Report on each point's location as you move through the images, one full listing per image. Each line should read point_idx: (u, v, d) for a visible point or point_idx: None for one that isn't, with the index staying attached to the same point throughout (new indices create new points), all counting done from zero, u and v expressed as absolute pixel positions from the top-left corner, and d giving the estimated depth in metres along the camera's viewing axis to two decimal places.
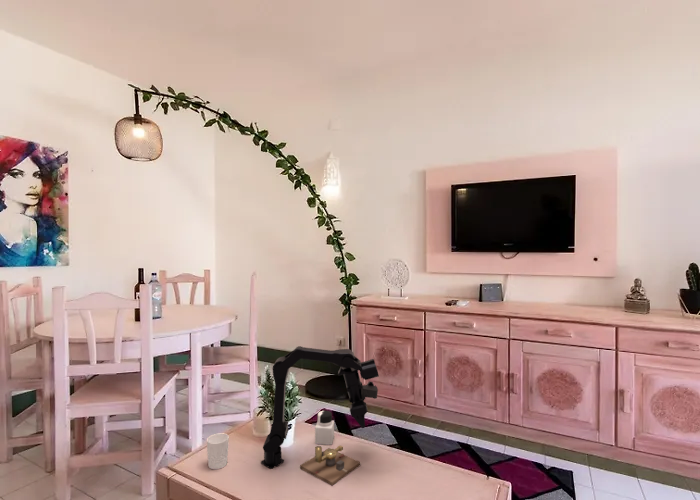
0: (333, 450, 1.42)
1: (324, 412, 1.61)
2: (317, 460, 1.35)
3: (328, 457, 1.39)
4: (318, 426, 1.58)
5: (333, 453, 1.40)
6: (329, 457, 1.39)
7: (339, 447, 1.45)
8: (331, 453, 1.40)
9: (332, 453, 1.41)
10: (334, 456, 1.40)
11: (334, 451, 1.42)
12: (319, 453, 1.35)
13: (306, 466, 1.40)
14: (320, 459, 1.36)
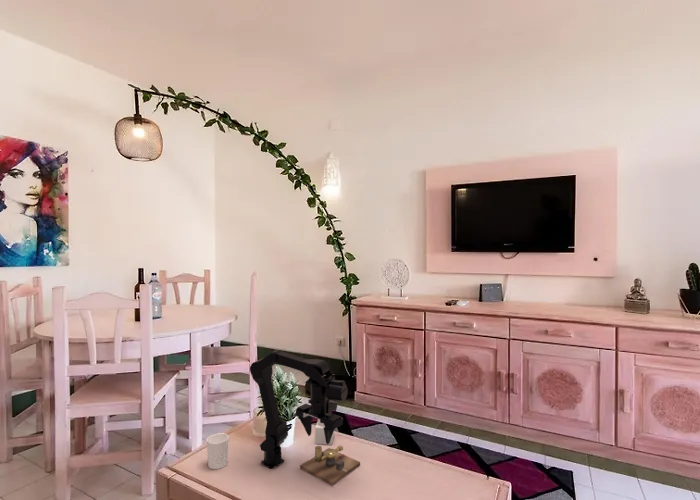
0: (333, 450, 1.42)
1: None
2: (317, 460, 1.35)
3: (328, 457, 1.39)
4: (318, 426, 1.58)
5: (333, 453, 1.40)
6: (329, 457, 1.39)
7: (339, 447, 1.45)
8: (331, 453, 1.40)
9: (332, 453, 1.41)
10: (334, 456, 1.40)
11: (334, 451, 1.42)
12: (319, 453, 1.35)
13: (306, 466, 1.40)
14: (320, 459, 1.36)
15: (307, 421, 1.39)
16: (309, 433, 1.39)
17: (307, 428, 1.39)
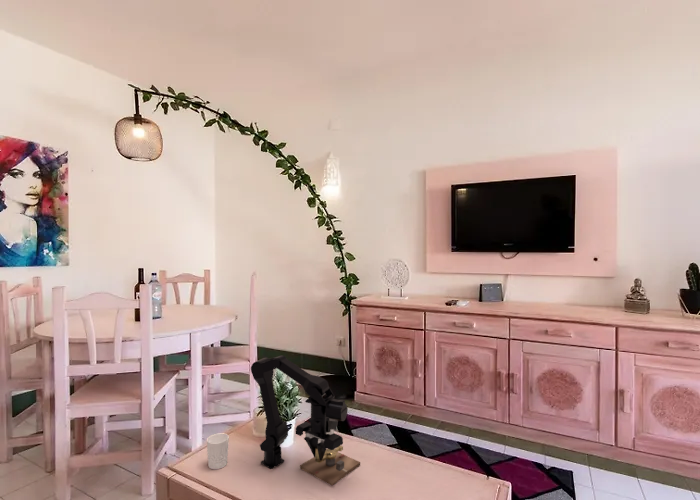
0: (333, 450, 1.42)
1: None
2: (317, 460, 1.35)
3: (328, 457, 1.39)
4: None
5: (333, 453, 1.40)
6: (329, 457, 1.39)
7: (339, 447, 1.45)
8: (331, 453, 1.40)
9: (332, 453, 1.41)
10: (334, 456, 1.40)
11: (334, 451, 1.42)
12: None
13: (306, 466, 1.40)
14: None
15: (313, 442, 1.37)
16: None
17: (313, 450, 1.36)
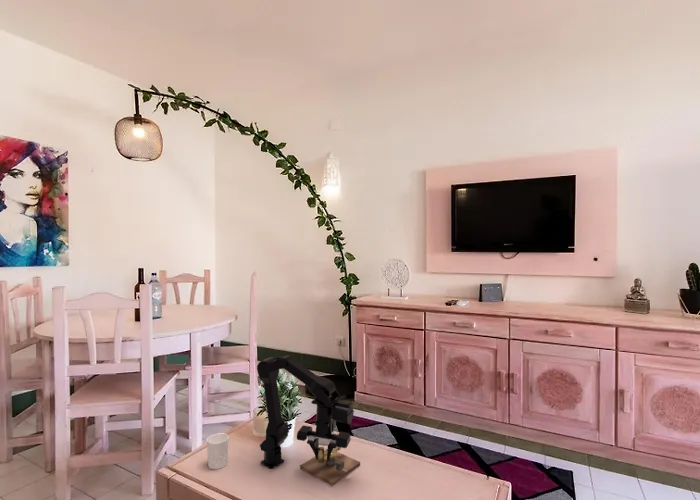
0: (333, 450, 1.42)
1: None
2: (320, 461, 1.35)
3: None
4: None
5: (334, 453, 1.41)
6: (330, 457, 1.39)
7: None
8: (332, 453, 1.40)
9: (332, 452, 1.41)
10: (335, 456, 1.40)
11: (334, 451, 1.42)
12: (322, 454, 1.35)
13: (306, 466, 1.40)
14: (323, 460, 1.35)
15: (316, 444, 1.35)
16: (317, 456, 1.36)
17: (316, 452, 1.35)
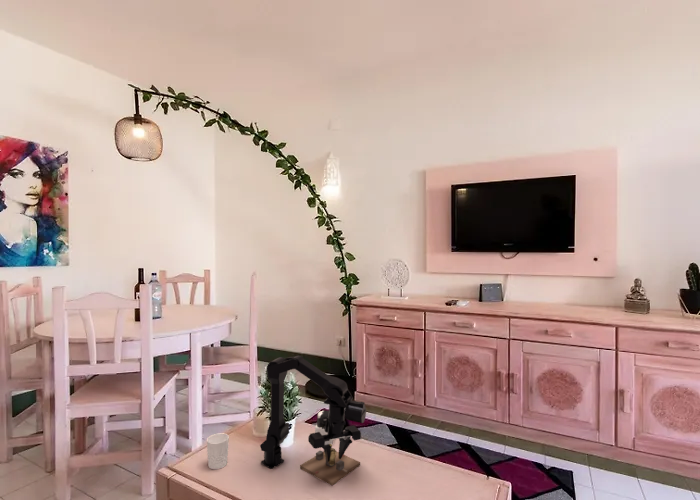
0: None
1: (324, 412, 1.61)
2: (333, 462, 1.34)
3: None
4: None
5: (334, 451, 1.41)
6: None
7: None
8: None
9: None
10: None
11: None
12: (334, 454, 1.34)
13: (306, 466, 1.40)
14: (334, 460, 1.35)
15: None
16: None
17: None
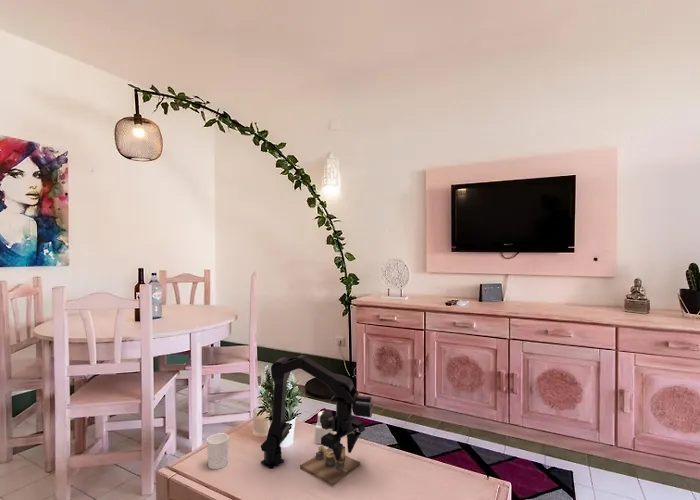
0: (328, 450, 1.43)
1: (324, 412, 1.61)
2: (344, 459, 1.36)
3: None
4: (318, 426, 1.58)
5: None
6: None
7: (322, 447, 1.45)
8: None
9: None
10: None
11: (330, 449, 1.43)
12: None
13: (306, 466, 1.40)
14: None
15: None
16: None
17: None
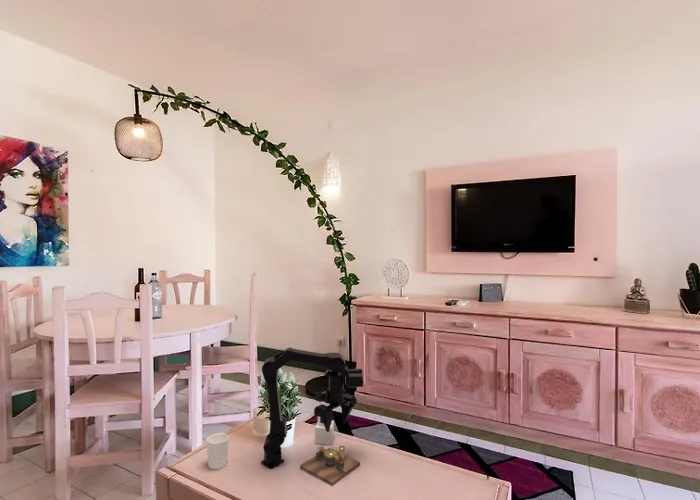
0: (328, 450, 1.43)
1: None
2: (344, 459, 1.36)
3: None
4: (318, 426, 1.58)
5: (334, 450, 1.42)
6: (336, 455, 1.41)
7: (322, 447, 1.45)
8: (333, 451, 1.42)
9: (333, 451, 1.42)
10: None
11: (330, 449, 1.43)
12: None
13: (306, 466, 1.40)
14: None
15: None
16: None
17: None
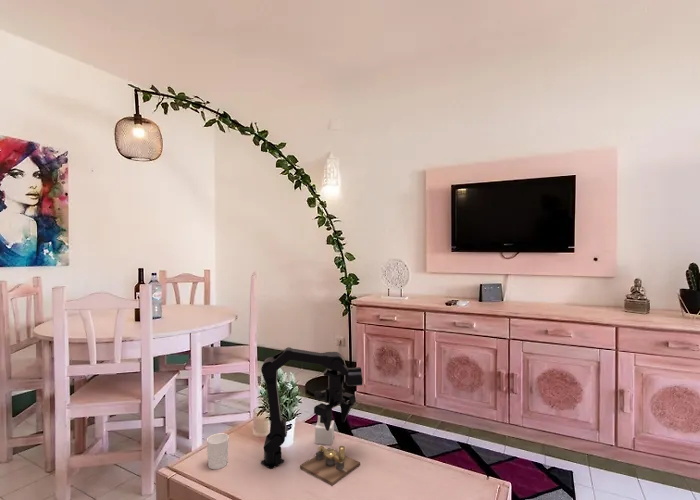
0: (328, 450, 1.43)
1: None
2: (344, 459, 1.36)
3: None
4: (318, 426, 1.58)
5: (334, 450, 1.42)
6: (336, 455, 1.41)
7: (322, 447, 1.45)
8: (333, 451, 1.42)
9: (333, 451, 1.42)
10: None
11: (330, 449, 1.43)
12: None
13: (306, 466, 1.40)
14: None
15: None
16: None
17: None
